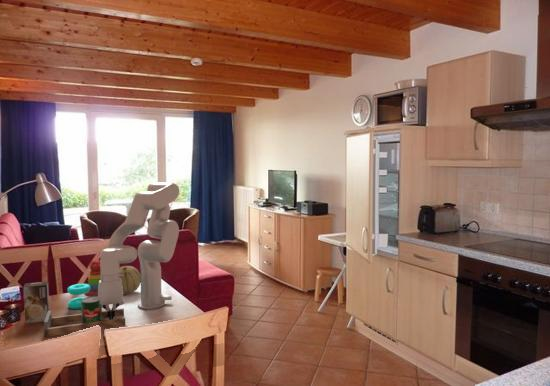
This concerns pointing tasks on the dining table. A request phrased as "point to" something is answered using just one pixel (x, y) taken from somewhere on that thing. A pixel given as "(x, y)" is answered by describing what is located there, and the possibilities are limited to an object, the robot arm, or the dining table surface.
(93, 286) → the stacking bear
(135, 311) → the dining table surface
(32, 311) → the coffee box
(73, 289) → the donuts
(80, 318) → the bay
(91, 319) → the canned tomato
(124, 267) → the cantaloupe
